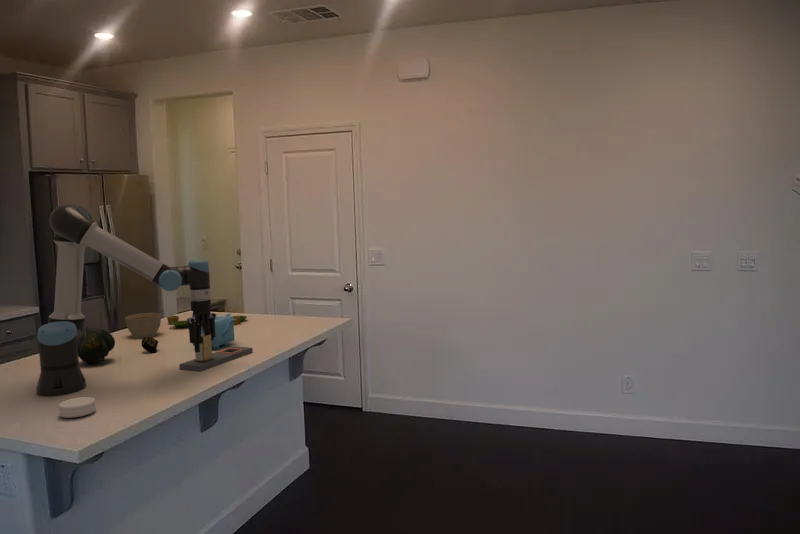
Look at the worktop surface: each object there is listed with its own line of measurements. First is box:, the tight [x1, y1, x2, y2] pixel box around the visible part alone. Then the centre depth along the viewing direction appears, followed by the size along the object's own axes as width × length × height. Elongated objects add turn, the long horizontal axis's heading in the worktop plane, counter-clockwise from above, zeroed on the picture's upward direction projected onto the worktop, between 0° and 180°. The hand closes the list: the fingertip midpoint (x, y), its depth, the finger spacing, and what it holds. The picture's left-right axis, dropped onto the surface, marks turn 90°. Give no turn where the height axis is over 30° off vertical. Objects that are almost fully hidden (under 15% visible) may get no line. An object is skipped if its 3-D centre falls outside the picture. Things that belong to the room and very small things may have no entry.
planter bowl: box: [124, 312, 162, 340], centre depth 296 cm, size 16×16×11 cm
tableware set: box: [166, 315, 248, 331], centre depth 325 cm, size 41×28×6 cm
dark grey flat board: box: [179, 345, 254, 372], centre depth 246 cm, size 32×10×2 cm, turn 156°
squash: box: [78, 326, 116, 365], centre depth 246 cm, size 14×15×15 cm
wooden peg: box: [194, 334, 213, 363], centre depth 238 cm, size 4×4×12 cm
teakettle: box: [189, 312, 237, 351], centre depth 272 cm, size 19×19×15 cm
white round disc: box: [58, 396, 97, 419], centre depth 185 cm, size 10×10×4 cm
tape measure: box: [140, 336, 159, 354], centre depth 264 cm, size 7×7×4 cm
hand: (203, 358), depth 239 cm, fingers closed on wooden peg, 4 cm apart
